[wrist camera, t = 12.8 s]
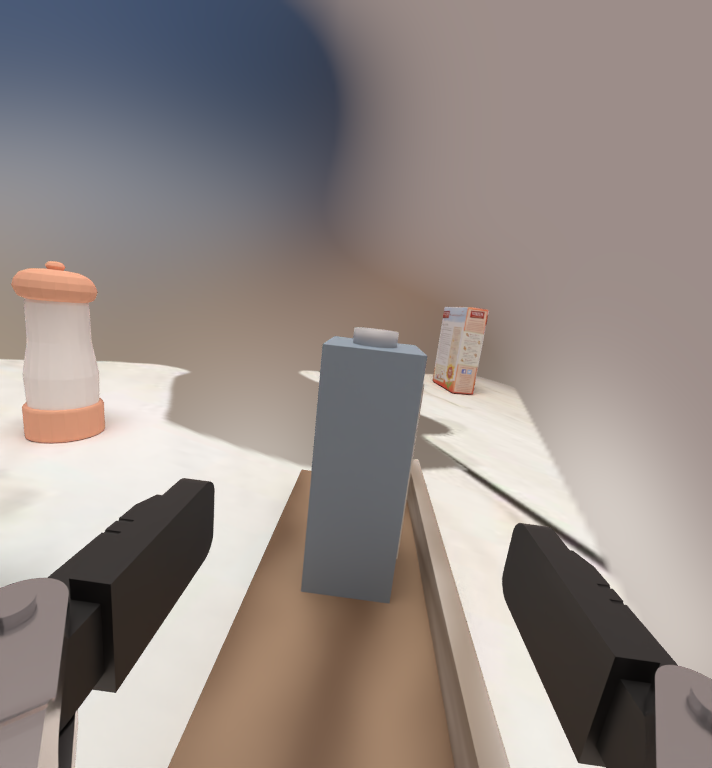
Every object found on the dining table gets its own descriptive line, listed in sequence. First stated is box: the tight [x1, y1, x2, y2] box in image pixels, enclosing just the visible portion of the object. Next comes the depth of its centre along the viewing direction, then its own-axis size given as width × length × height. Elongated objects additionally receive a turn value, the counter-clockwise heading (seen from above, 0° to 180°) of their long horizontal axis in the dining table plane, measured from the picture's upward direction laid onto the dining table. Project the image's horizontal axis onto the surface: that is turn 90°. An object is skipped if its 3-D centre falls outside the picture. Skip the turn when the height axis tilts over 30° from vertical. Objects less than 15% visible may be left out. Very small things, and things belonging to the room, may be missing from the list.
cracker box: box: [433, 307, 489, 394], centre depth 90 cm, size 14×6×21 cm, turn 8°
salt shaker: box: [11, 261, 105, 443], centre depth 39 cm, size 7×7×19 cm
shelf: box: [168, 459, 510, 768], centre depth 21 cm, size 11×26×4 cm, turn 177°
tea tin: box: [301, 327, 427, 603], centre depth 20 cm, size 5×5×15 cm
